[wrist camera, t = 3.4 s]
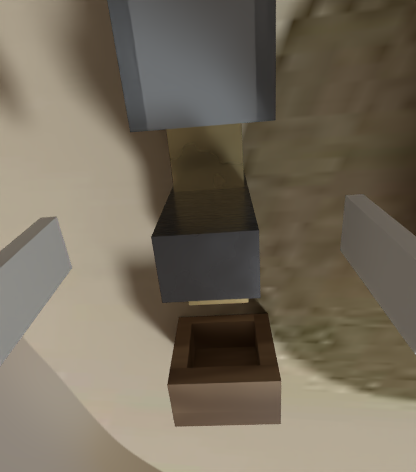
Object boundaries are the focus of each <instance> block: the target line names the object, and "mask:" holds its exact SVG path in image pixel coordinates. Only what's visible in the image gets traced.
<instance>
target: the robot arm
mask: <svg viewBox="0 0 416 472" xmlns="http://www.w3.org/2000/svg"><path fill="white" fill-rule="evenodd" d="M340 251H341V252H342V253H343V255H344V256H345V258H346V259H347V260H348V262H349V263H350V265H351V266H352V267H353V269H354V270H355V271H356V273H357V274H358V276H359V277H360V278H361V280H362V281H363V283H364V284H365V285H366V287H367V288H368V290H369V291H370V292H371V294H372V295H373V296H374V298H375V299H376V301H377V302H378V303H379V305H380V306H381V308H382V309H383V310H384V312H385V313H386V315H387V316H388V317H389V319H390V320H391V322H392V323H393V324H394V326H395V327H396V328H397V330H398V331H399V333H400V334H401V335H402V337H403V338H404V340H405V341H406V342H407V344H408V345H409V347H410V348H411V349H412V351H413V352H414V353H415V354H416V236H415V235H414V234H412V233H411V232H410V231H409V230H407V229H406V228H405V227H404V226H402V225H401V224H400V223H399V222H397V221H396V220H395V219H394V218H392V217H391V216H390V215H389V214H387V213H386V212H385V211H384V210H382V209H381V208H380V207H379V206H377V205H376V204H375V203H374V202H372V201H371V200H370V199H369V198H367V197H366V196H365V195H364V194H358V195H346V196H345V206H344V217H343V227H342V237H341V247H340ZM71 269H72V266H71V262H70V259H69V256H68V252H67V249H66V246H65V242H64V239H63V236H62V232H61V229H60V226H59V222H58V219H57V217H44V218H40V219H39V220H37V221H36V222H35V223H34V224H33V225H31V226H30V227H29V228H28V229H27V230H25V231H24V232H23V233H22V234H21V235H19V236H18V237H17V238H16V239H15V240H13V241H12V242H11V243H10V244H9V245H7V246H6V247H5V248H4V249H3V250H1V251H0V366H1V365H2V363H3V362H4V361H5V359H6V358H7V357H8V355H9V354H10V352H11V351H12V349H13V348H14V347H15V345H16V344H17V343H18V341H19V340H20V339H21V337H22V336H23V335H24V333H25V332H26V330H27V329H28V328H29V326H30V325H31V324H32V322H33V321H34V319H35V318H36V317H37V315H38V314H39V313H40V311H41V310H42V308H43V307H44V306H45V304H46V303H47V302H48V300H49V299H50V297H51V296H52V295H53V293H54V292H55V291H56V289H57V288H58V286H59V285H60V284H61V282H62V281H63V280H64V278H65V277H66V275H67V274H68V273H69V271H70V270H71Z"/></svg>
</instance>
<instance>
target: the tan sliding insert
mask: <svg viewBox="0 0 416 472" xmlns="http://www.w3.org/2000/svg"><path fill="white" fill-rule="evenodd" d="M166 132H167V140H168V148H169V155H170V163H171V171H172V178H173V188H172V190H171V192H170V195H169V197H168V199H167V202H166V204H165V206H164V209H163V211H162V213H161V215H160V218H159V220H158V222H157V225H156V227H155V229H154V232H153V234H152V236H151V239H152V244H153V250H154V256H155V262H156V268H157V274H158V280H159V285H160V291H161V297H162V303H167V302H188V301H189V305H208V304H229V303H248V299H249V298H260V259H259V229H258V225H257V221H256V217H255V213H254V209H253V205H252V201H251V197H250V193H249V189H248V186H247V182H246V178H245V174H244V170H243V150H242V125H241V123H236V124H224V125H212V126H200V127H188V128H175V129H166Z"/></svg>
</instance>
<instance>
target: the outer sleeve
mask: <svg viewBox="0 0 416 472" xmlns="http://www.w3.org/2000/svg"><path fill="white" fill-rule="evenodd" d="M107 2H108V7H109V13H110V19H111V25H112V30H113V36H114V42H115V48H116V53H117V59H118V65H119V70H120V76H121V82H122V88H123V93H124V99H125V105H126V111H127V116H128V122H129V128H130V132H139V131H151V130H163V129H175V128H188V127H200V126H212V125H224V124H236V123H248V122H260V121H272V120H275V104H276V0H107Z"/></svg>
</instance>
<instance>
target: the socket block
mask: <svg viewBox="0 0 416 472" xmlns="http://www.w3.org/2000/svg"><path fill="white" fill-rule="evenodd" d="M167 386H168V391H169V396H170V402H171V407H172V412H173V418H174V423H175V427H176V426H216V425H256V424H281V378H280V373H279V368H278V363H277V358H276V353H275V348H274V343H273V338H272V333H271V328H270V323H269V318H268V313H264V314H242V315H220V316H199V317H179V320H178V326H177V332H176V337H175V343H174V349H173V355H172V361H171V367H170V372H169V378H168V384H167Z"/></svg>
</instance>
